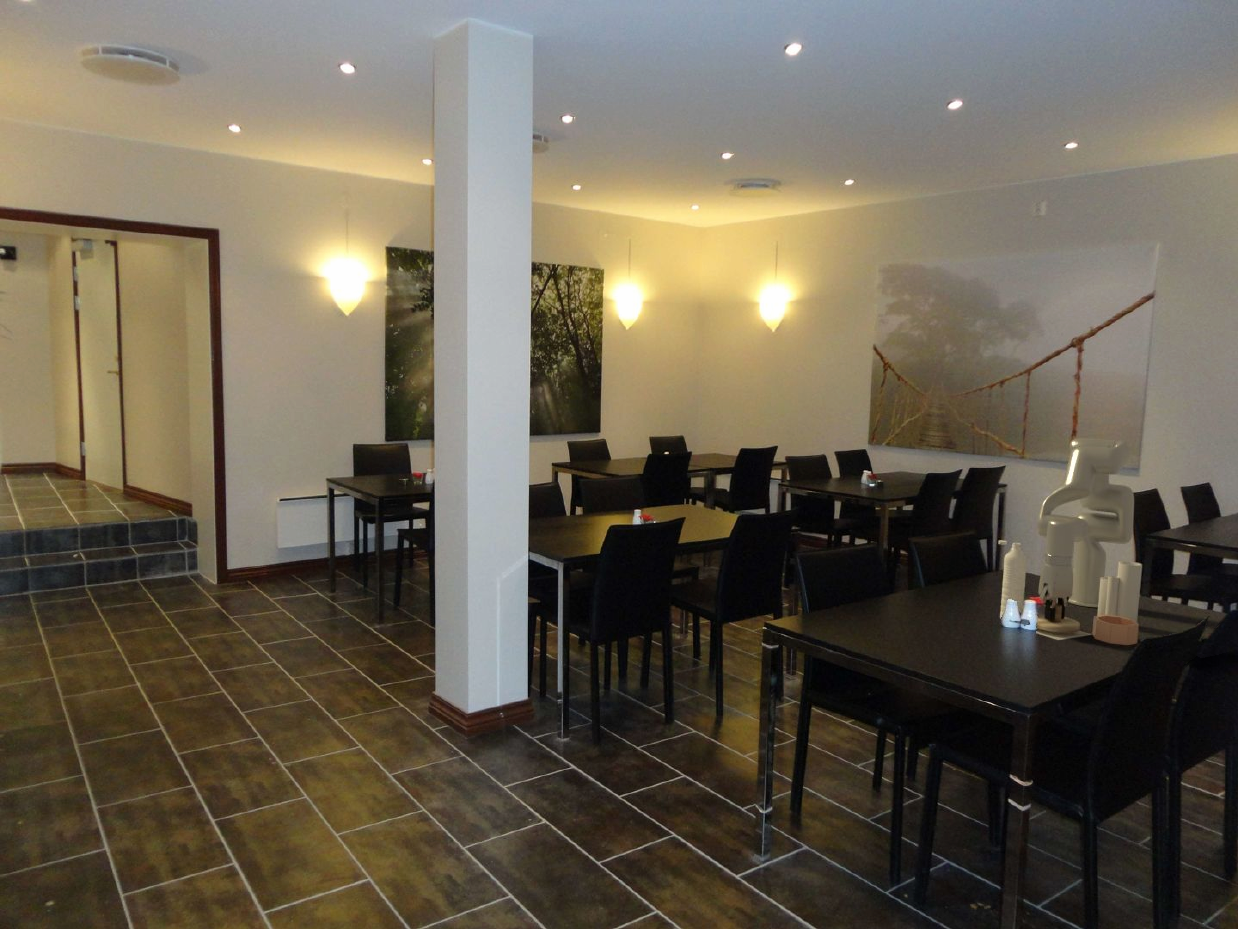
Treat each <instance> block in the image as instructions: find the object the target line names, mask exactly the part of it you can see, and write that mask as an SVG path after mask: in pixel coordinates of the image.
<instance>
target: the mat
mask: <svg viewBox="0 0 1238 929" xmlns="http://www.w3.org/2000/svg"><path fill="white" fill-rule="evenodd" d="M1035 634H1037V635H1040V636H1045V637H1047V638H1050V639H1053V640H1056V641H1062V640H1069V639H1074V638H1080V637H1086V636H1091V635H1092V633H1088V632H1086V631H1081V630H1079V631H1077V632H1072V633H1061V632H1052V631H1046V630H1042V629H1039V628H1038V630H1037V631H1036V633H1035ZM1092 636H1093V635H1092Z"/></svg>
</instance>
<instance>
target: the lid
mask: <svg viewBox="0 0 1238 929" xmlns="http://www.w3.org/2000/svg"><path fill="white" fill-rule="evenodd" d="M1054 608H1056V611H1055V621H1051V620H1047V619H1045V618H1044V616H1045V613H1043V614H1042V613H1038V614H1037V613H1036V614H1037V616H1038V620H1037V623H1036V628H1039V629H1042V630H1046V631H1052V632H1061V633H1072V632H1077V631H1081V629H1080V627H1081V624H1080V622H1079V621H1077V620H1076V619H1074V618H1073V619H1072V618H1070V617H1066V616H1065V617H1064V619H1061V613H1062V605H1060V604H1057V603H1055V606H1054Z"/></svg>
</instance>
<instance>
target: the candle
mask: <svg viewBox="0 0 1238 929" xmlns="http://www.w3.org/2000/svg"><path fill="white" fill-rule="evenodd" d="M1142 570H1143V564H1142V563H1140V562H1134V561H1129V560H1121V561H1118V566H1117V576H1115V575H1108V576H1104V577H1101V579H1100V591H1099V602H1098V607H1097V614H1096V616H1099V615H1111V616H1120V617H1124V618H1128V619H1132V620H1135V621H1136V622H1137V623H1138V615H1139V603H1140V595H1141V593H1140V592H1141V591H1140V590H1141V581H1142V572H1143V571H1142Z"/></svg>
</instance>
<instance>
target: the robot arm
mask: <svg viewBox="0 0 1238 929" xmlns="http://www.w3.org/2000/svg"><path fill="white" fill-rule="evenodd" d="M1069 452H1070V454H1069V457H1068V462H1067V465H1066V470H1065V474H1064V477H1063V481H1062V485H1061V486H1059V487H1058V488H1056V489H1055V490H1054V491H1052V492H1051V493H1050V494H1049V495H1047V496H1046V497H1045V499H1044V500H1043V502H1042V504H1041V505H1040V509H1039V513H1038V515H1037V516H1038V517H1037V521H1036V532H1037V534H1038V535H1039V536H1040V537H1042V538H1046V544H1045V545H1046V546H1045V557H1044V563H1043V565H1042V569H1041V572H1040V577H1039V583H1038V584H1039V585H1038V595H1039V598H1038V599H1039V601H1041V602H1042V603H1043V606H1044V614H1045V616H1044V618H1045V619H1047V620H1051V621H1055V611H1056V608H1054V606H1055V604H1060V605H1062V613H1061V619H1064V617H1066V607H1067V606H1068V603H1070V604H1073V605H1077V606H1082V607H1090V608H1098V602H1099V591H1100V579H1101V577H1106V574H1105V573H1106V564H1107V562H1106V561H1107V554H1106V553H1107V552H1106V551H1105V549H1104V547H1103V546H1102V545H1101V544H1100V543H1109V544H1117V545H1126V544H1128V543H1130V541H1131V540H1132V538H1133V533H1134V532H1133V531H1134V515H1135V514H1134V513H1135V497H1134V496H1135V495H1134V491H1133V490H1132V488H1131V487H1129V486H1127V485H1122V484H1111V483H1110V475H1117V474H1119V473H1120V472H1121V470H1123V469H1124V467H1125V466H1126V464H1128V461H1129V459H1130V454H1131V452H1130V447H1129V444H1128V443H1127V442H1126V441H1124V440H1119V439H1117V440H1116V439H1105V438H1104V439H1103V438H1093V437H1092V438H1091V437H1090V438H1088V437H1087V438H1086V437H1079V438H1075V439H1072V440H1071V441H1070V444H1069ZM1078 500H1080V505H1081V507H1082V508H1083V509H1085V510H1088V511H1093V512H1082V513H1079V514H1077V516H1069V515H1061V514H1052V513H1053V511H1054V510H1056V508H1058V507H1060V506H1061V505H1064V504H1068V503H1071V502H1075V501H1078ZM1094 511H1095V512H1094ZM1102 512H1104V513H1102ZM1108 513H1111V514H1108ZM1112 513H1113V514H1112Z"/></svg>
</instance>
